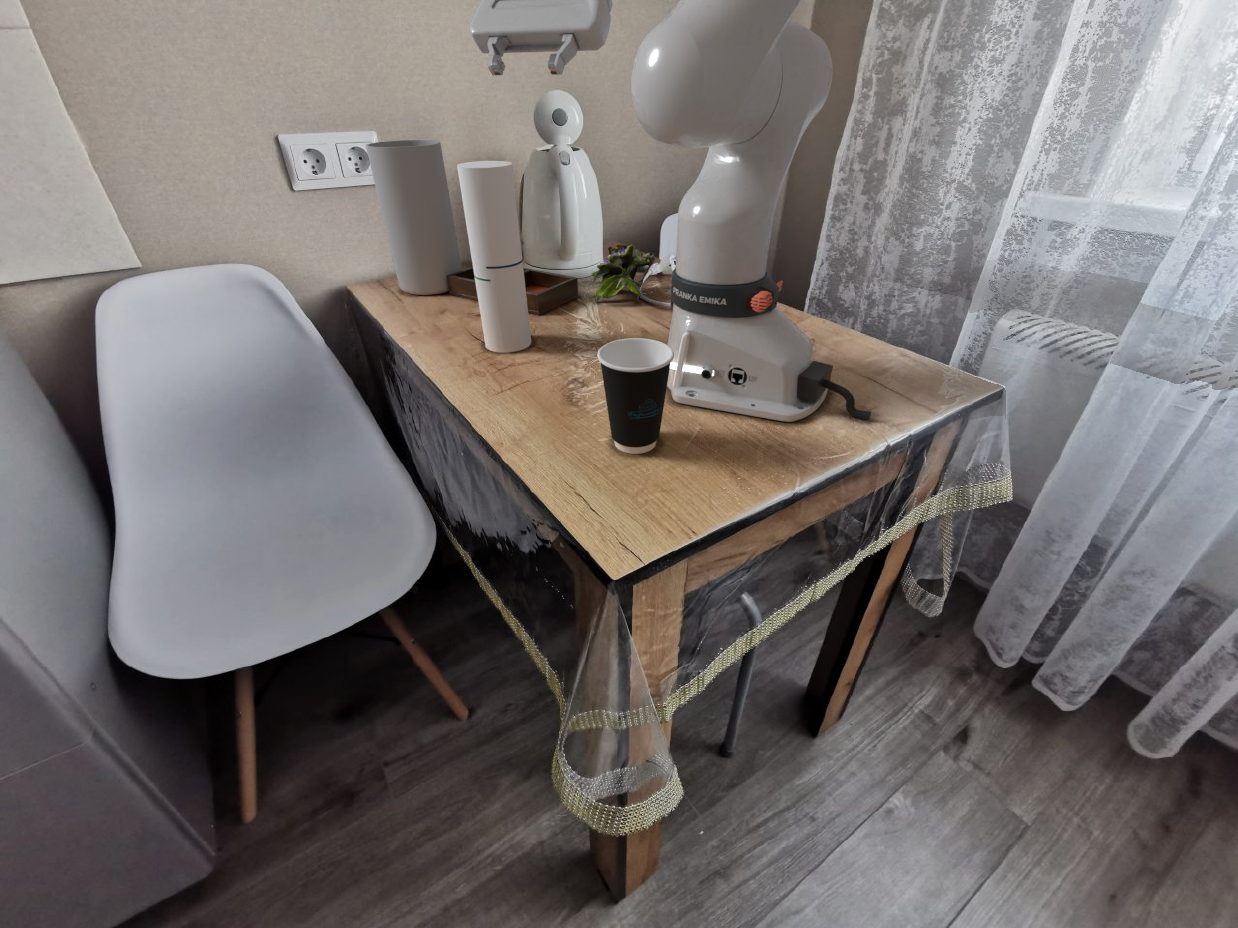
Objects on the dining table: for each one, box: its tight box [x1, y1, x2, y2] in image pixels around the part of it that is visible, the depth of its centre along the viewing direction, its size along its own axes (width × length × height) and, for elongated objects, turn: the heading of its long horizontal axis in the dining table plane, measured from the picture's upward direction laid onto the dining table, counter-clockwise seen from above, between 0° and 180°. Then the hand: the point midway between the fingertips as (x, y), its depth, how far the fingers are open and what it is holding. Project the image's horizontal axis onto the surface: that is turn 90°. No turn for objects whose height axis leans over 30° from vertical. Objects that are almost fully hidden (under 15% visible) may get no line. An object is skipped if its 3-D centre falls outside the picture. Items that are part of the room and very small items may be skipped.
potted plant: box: [591, 243, 656, 304], centre depth 103 cm, size 11×11×12 cm
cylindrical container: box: [456, 160, 532, 354], centre depth 81 cm, size 7×7×25 cm
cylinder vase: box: [365, 139, 463, 296], centre depth 105 cm, size 12×12×25 cm
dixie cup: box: [596, 337, 674, 455], centre depth 61 cm, size 8×8×11 cm
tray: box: [446, 266, 579, 316], centre depth 106 cm, size 22×12×4 cm, turn 57°
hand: (523, 71), depth 77 cm, fingers open, 8 cm apart
